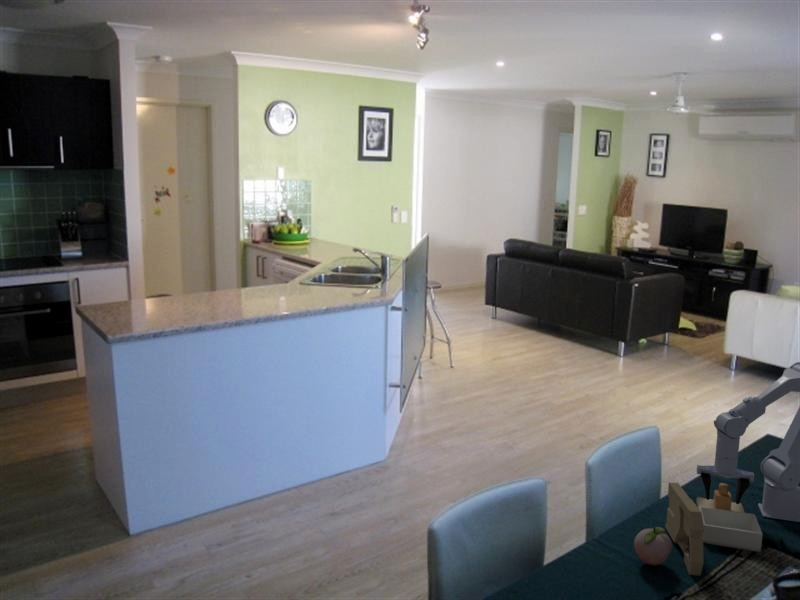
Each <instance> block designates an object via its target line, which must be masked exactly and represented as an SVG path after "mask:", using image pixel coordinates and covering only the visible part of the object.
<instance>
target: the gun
mask: <svg viewBox="0 0 800 600" xmlns="http://www.w3.org/2000/svg"><path fill="white" fill-rule="evenodd" d="M667 490H668V491H667V498H668V499H669V501H668V507H667V509H666V522H665V525H664V527H665V528H664V529H666V531H667V534H668V535H669V536H670V537H671V539H672V541H673V542H674V544H675V545H678V546H679V548H680V549H681V551H682V553H683V562H684V564H685V567H686V570H687V573H688V575H689V576H690V575H691V576H702V572H703V567H704V543H703V539H702V538H701V537H702V532H704V524H703V518H702V513H701V511H700V510H699V508H698V507H697V504H696V503H695V502H694V501H693V499H692V498H690V496H689V495H688V494H687V492H686V491H685V490H684V489H683V488H682V486H681V485H680V484H679V482H670V481H669V482H668V488H667Z"/></svg>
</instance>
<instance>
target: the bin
mask: <svg viewBox="0 0 800 600" xmlns="http://www.w3.org/2000/svg"><path fill="white" fill-rule="evenodd" d="M698 508H699V510H700V511H701V513H702V518H703V524H704V532H702V537H701V538H702V539H703V544H709V545H715V546H720V547H721V546H722V547H726V548H727V547H728V548H733V549H739V550H744V551H745V550H748V551H753V552H757V553H762V552H761V551H762V543H763V536H764V535H763V532H762V528H761V526H760V524H759V522H758V518H757V516H756V514H754V513H748V512H745V513H743V512H736V511H729V510H722V509H715V508H709V507H702V506H699V507H698Z"/></svg>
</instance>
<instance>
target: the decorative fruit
mask: <svg viewBox="0 0 800 600" xmlns="http://www.w3.org/2000/svg"><path fill="white" fill-rule="evenodd" d="M665 529H666V528H663V527H660V526H655V527H653V528H644V529H641V531H639V532H638V533H637V535H636V536H635V538H634V542H633V546H634V547H633V548H634V550H635V552H636V554H637V556H638V557H639V559H640V560H641V561H642V562H644V563H645V564H646V565H648V566H649V565H650V566H653V567H654V566H659V565H662V564H663V563H664V562H665V561H666V559H667V558H669V556H670V553H671V551H672V546H673V545H672V541H671V539H670V537H669V535H668V534H666V530H665Z"/></svg>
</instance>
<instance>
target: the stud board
mask: <svg viewBox="0 0 800 600" xmlns="http://www.w3.org/2000/svg"><path fill="white" fill-rule="evenodd" d="M695 501H696V503H695V504H696V506H697V507H699V506H702V507H709V508H714V507H713V501H714V498H713V499H711V498H709V500H707V499H706V497H698V496H697V497H696V500H695ZM731 511H736V512H743V513H746V512H745V510H744V507H743V504H742V503H740V502H739V504H736V502H733V501H732V502H731Z"/></svg>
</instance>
